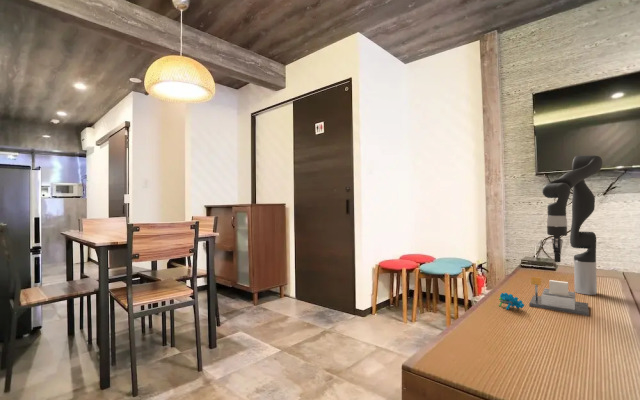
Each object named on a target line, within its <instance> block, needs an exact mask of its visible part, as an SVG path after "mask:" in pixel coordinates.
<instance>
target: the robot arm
mask: <svg viewBox="0 0 640 400" xmlns="http://www.w3.org/2000/svg"><path fill="white" fill-rule="evenodd" d="M602 167H603V159H602V157H601V156H600V155H595V154H594V155H593V154H592V155H590V154H588V155H587V154H585V155H583V154H582V155H580V154H579V155H576V156H574V158H573V160H572V164H571V170H570V171H567V172H566V173H564V174H562V175H561V176H560V177H559V178H557V179H554V180H552V181H549V182H547V183H545V185H544V186H543V187H542V190H541V191H542V195H543V196H544V197H545V198H547V199H557V200H556V202H551V203H548V204H547V218H546V227H547V228H546V231H547V233H546V234H547V235H548V236H553V238H552V239H551V243H552V249H553V256H554V262H555V263H561V261H562V259H561V258H562V257H561V254H562V249H563V241H564V240H563V239H562V238H561V237H566V236H568V221H567V220H568V219H567V204H568V201H569V199H570V195H571V189H572V198H571V199H572V201H571V202H572V203H571V211H572V212H571V227H570V233H569V234H570V235H569V243H570V246H571V248H574V249H587V250H585V251H584V252H582V253H576V254H574V255H573V272H574V276H573V277H574V280H573V281H574V284H573V285H574V292H575V293H577V294H583V295H589V296H596V295H597V293H598V292H597V290H598V289H597V286H598V285H597V283H598V282H597V235H596V234H595V233H594V232H593V231H580V229H581V227H582V225H583V224H584V222H585V221H586V220H587V219H588V218H589V217H590V216H591V215H593V213H594V211H595V208H596V207H595V204H596V201H595V200H596V197H595V195H594V193H593V191H592V190H591V188H590V187H589V186H588V184H587V183H586V182H585V179H587V178H590V177H591V176H593V175H596V174H597V173H599V172H600V171H601V169H602Z"/></svg>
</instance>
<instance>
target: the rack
mask: <svg viewBox="0 0 640 400" xmlns="http://www.w3.org/2000/svg"><path fill="white" fill-rule="evenodd" d="M530 279H531V280H530V284H531V285H534V295H532V298H531V300H530V301H529V303H528V304H529V307H531V308H538V309H545V310H550V311H556V312H563V313H568V314H573V315H580V316H584V317H585V316H587V317H589V315H590V314H589V313H590V311H589V310H590V309H589V302H588V303H587V302H582V301H576V292H575V291H570V290H568V296H567V295H560V294H553V293H549V288H546V287H544V288H543V291H542V292H541V295H539V292H538V286H542V277H538V276H531V277H530Z"/></svg>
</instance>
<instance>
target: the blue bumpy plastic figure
mask: <svg viewBox="0 0 640 400" xmlns="http://www.w3.org/2000/svg"><path fill="white" fill-rule="evenodd" d="M498 300H499V305H498V307H499V306H500V308H501V307H502V305H503V304H505V305H507V306H506V308H505V309H506V310H507V311H509V310H510V307H513V308H514V307H516V308H517V309H523V307H525V304H524V303H523V301H522V300H521V299H519V298H518V297H517V296H513V294H511V293H509V294H508V293H507V292H501V294H500V296H499V298H498Z"/></svg>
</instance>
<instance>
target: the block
mask: <svg viewBox="0 0 640 400" xmlns="http://www.w3.org/2000/svg"><path fill="white" fill-rule="evenodd" d="M548 283H549V285H548V286H549V288H548V289H549V293H553V294H560V295H567V296H568V291H569V282H568V281H561V280H560V281H559V280H552V279H549V281H548Z"/></svg>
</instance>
